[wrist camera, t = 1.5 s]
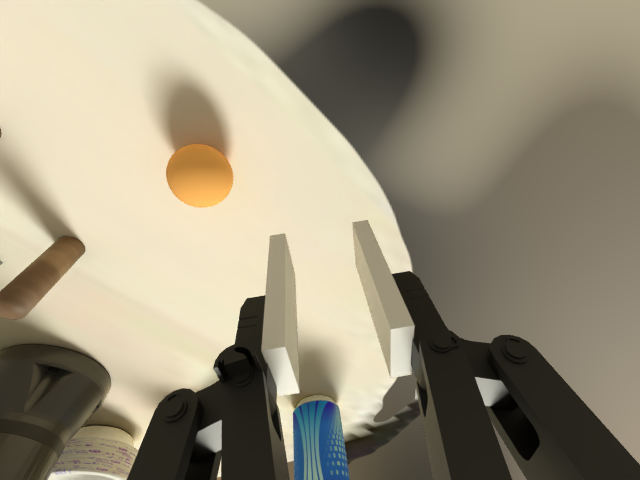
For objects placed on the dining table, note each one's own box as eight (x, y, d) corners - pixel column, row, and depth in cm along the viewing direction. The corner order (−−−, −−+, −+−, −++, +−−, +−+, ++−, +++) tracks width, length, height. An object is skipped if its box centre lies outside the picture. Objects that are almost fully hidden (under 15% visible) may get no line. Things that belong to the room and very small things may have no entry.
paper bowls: (137, 459, 61) (119, 510, 54) (49, 449, 56) (17, 504, 49) (159, 424, 54) (141, 477, 48) (61, 408, 49) (27, 466, 42)
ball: (189, 195, 31) (173, 223, 26) (167, 141, 27) (144, 162, 23) (243, 186, 31) (236, 213, 26) (226, 131, 28) (215, 150, 23)
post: (66, 257, 33) (3, 321, 26) (51, 238, 32) (-20, 300, 24) (90, 253, 33) (34, 316, 26) (76, 234, 32) (12, 294, 24)
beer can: (285, 400, 54) (285, 518, 41) (330, 387, 53) (344, 504, 40) (302, 420, 58) (307, 532, 45) (343, 409, 58) (361, 520, 44)
